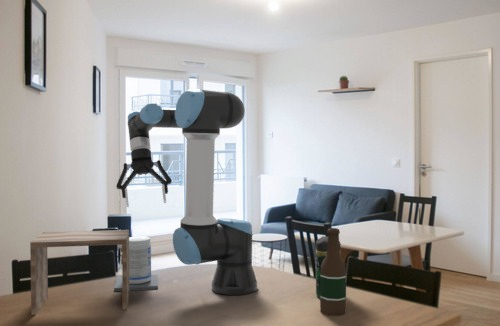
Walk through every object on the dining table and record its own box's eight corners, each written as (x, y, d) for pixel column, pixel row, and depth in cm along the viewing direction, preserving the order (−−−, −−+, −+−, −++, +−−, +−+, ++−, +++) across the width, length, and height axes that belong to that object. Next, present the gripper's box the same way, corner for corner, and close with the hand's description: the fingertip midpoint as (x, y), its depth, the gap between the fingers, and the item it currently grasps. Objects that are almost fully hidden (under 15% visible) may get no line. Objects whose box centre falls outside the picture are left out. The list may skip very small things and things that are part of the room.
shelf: (126, 309, 142) (126, 239, 141) (31, 315, 137) (30, 242, 136) (129, 292, 158) (129, 229, 157) (43, 297, 152) (42, 232, 152)
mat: (157, 288, 162) (157, 285, 162) (114, 291, 159) (114, 288, 159) (157, 277, 176) (157, 274, 176) (117, 279, 173) (117, 276, 173)
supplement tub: (155, 282, 166) (155, 239, 166) (128, 286, 161) (128, 242, 161) (144, 275, 174) (144, 234, 174) (118, 279, 169) (118, 237, 169)
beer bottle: (340, 318, 135) (341, 232, 134) (314, 313, 139) (315, 229, 138) (350, 310, 141) (351, 228, 141) (325, 305, 146) (326, 225, 145)
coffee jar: (315, 290, 161) (315, 234, 160) (339, 291, 160) (340, 235, 159) (315, 299, 151) (315, 240, 151) (341, 300, 150) (341, 240, 150)
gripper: (172, 151, 194) (179, 203, 187) (107, 157, 187) (112, 210, 181) (174, 144, 187) (180, 197, 180) (106, 150, 181) (111, 205, 174)
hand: (146, 204), depth 181 cm, fingers open, 13 cm apart
